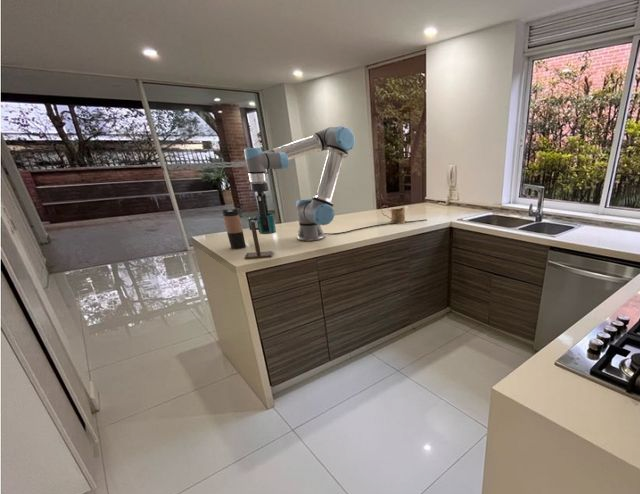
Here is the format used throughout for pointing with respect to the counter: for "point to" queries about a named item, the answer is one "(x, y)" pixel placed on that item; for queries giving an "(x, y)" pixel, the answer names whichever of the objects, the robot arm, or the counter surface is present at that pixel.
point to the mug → (397, 215)
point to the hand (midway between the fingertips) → (267, 229)
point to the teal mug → (270, 223)
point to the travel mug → (234, 228)
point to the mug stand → (257, 246)
